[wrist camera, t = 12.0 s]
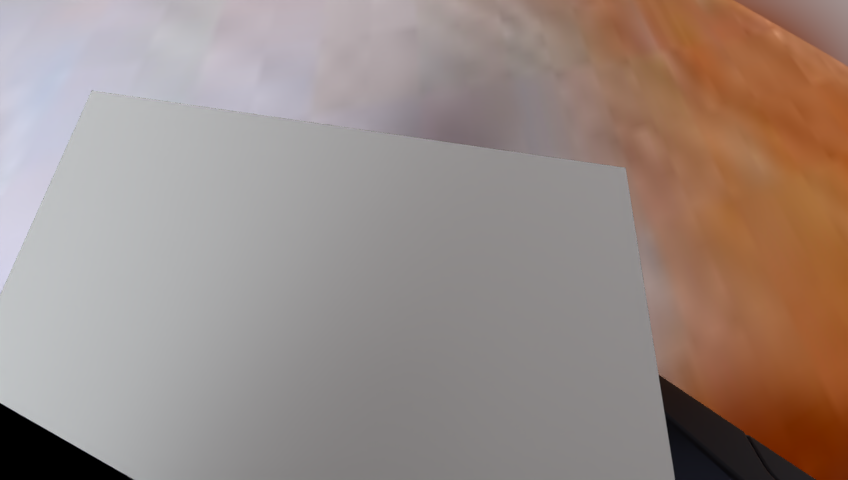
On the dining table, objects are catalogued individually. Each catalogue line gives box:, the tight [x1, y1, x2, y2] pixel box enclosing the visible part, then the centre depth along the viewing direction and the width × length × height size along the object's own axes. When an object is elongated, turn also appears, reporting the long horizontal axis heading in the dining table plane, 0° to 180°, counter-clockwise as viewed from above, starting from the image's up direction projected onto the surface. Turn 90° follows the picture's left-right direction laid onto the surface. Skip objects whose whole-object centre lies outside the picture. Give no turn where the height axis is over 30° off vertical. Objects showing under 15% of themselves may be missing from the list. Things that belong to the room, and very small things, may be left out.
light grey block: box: [0, 91, 675, 480], centre depth 8 cm, size 4×5×12 cm
